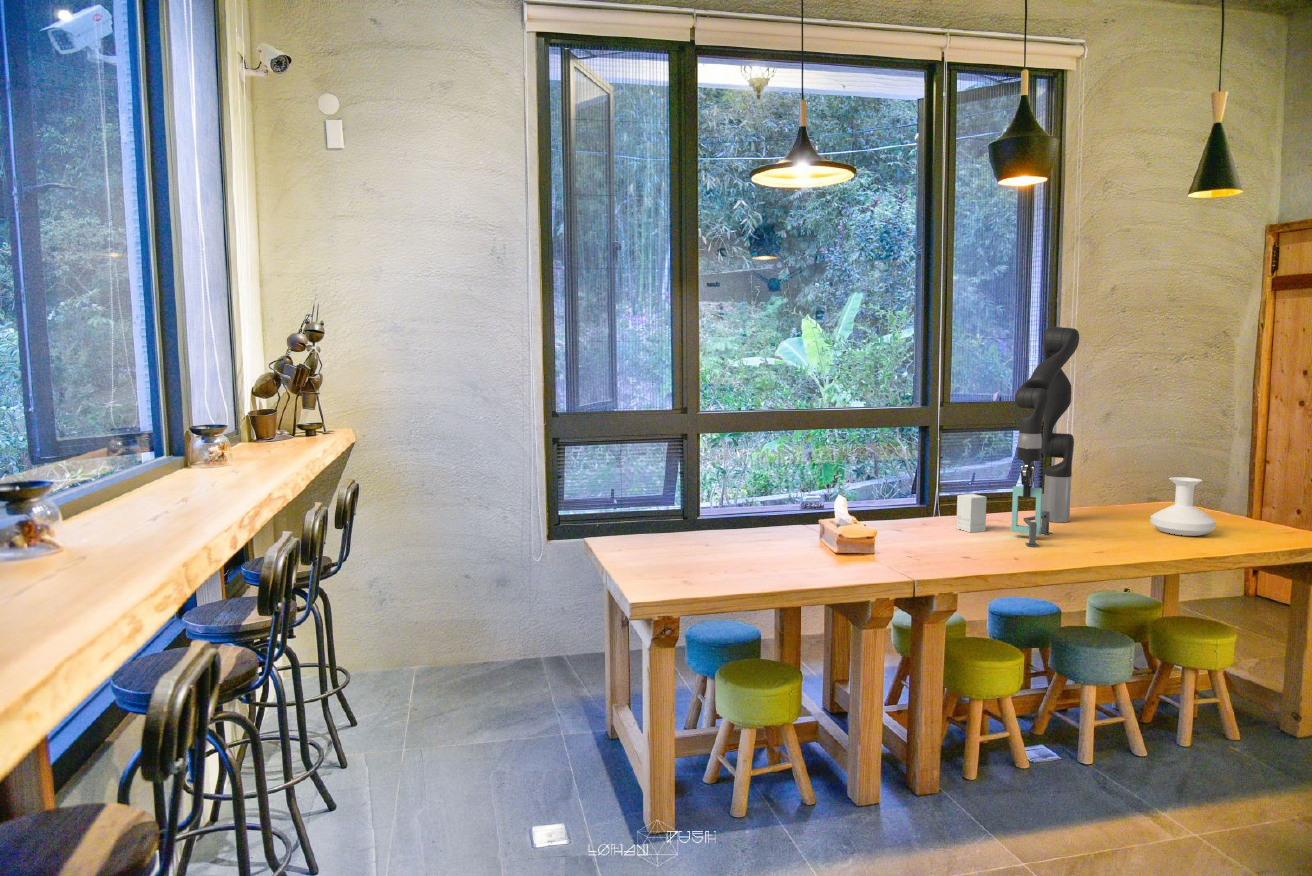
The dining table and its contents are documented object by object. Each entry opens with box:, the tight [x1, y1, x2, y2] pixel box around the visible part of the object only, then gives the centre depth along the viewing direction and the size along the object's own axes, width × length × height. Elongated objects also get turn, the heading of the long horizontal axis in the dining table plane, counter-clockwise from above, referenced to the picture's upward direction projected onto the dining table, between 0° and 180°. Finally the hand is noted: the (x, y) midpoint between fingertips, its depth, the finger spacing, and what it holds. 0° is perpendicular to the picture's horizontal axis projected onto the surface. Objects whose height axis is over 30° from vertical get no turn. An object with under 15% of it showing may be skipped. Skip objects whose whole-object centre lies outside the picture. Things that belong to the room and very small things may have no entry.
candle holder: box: [1149, 476, 1217, 537], centre depth 312 cm, size 20×20×19 cm
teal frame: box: [1010, 485, 1043, 535], centre depth 304 cm, size 4×9×15 cm, turn 56°
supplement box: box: [956, 493, 987, 533], centre depth 317 cm, size 7×7×13 cm
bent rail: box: [1023, 511, 1053, 548], centre depth 303 cm, size 8×26×8 cm, turn 146°
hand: (1027, 496), depth 303 cm, fingers closed on teal frame, 1 cm apart
